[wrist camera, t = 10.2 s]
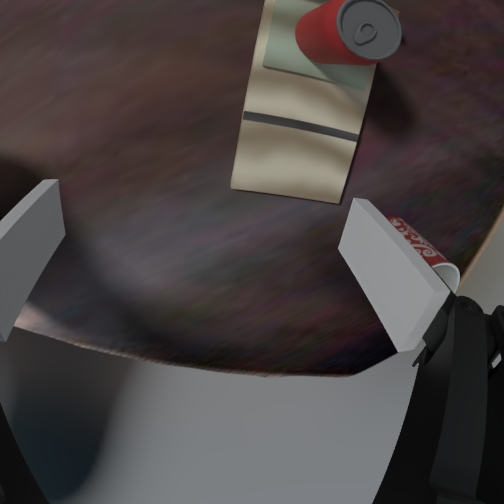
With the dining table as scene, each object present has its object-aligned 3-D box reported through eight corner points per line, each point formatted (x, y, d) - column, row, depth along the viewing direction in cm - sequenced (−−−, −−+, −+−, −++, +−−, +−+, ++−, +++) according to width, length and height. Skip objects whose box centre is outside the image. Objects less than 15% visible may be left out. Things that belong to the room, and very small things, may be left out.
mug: (378, 201, 41) (429, 256, 30) (421, 219, 43) (471, 271, 32) (340, 272, 47) (371, 337, 36) (383, 282, 50) (418, 341, 38)
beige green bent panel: (336, 200, 40) (346, 214, 37) (230, 185, 38) (231, 198, 35) (383, 14, 27) (399, 11, 23) (269, -21, 24) (275, -31, 21)
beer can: (280, 37, 27) (312, 24, 17) (318, -1, 25) (364, -26, 15) (326, 75, 30) (376, 83, 20) (361, 38, 27) (421, 33, 17)
